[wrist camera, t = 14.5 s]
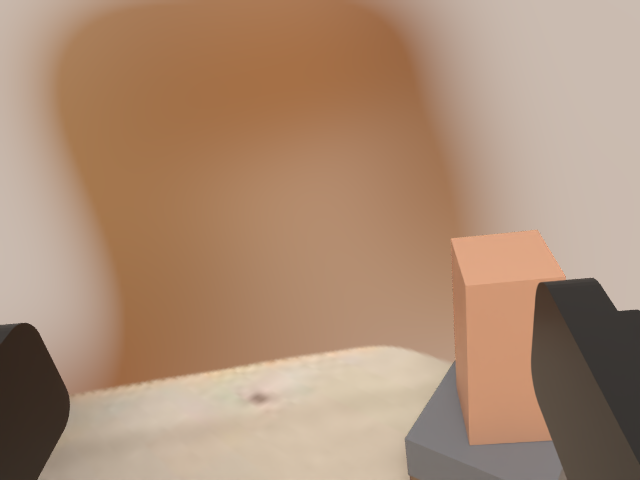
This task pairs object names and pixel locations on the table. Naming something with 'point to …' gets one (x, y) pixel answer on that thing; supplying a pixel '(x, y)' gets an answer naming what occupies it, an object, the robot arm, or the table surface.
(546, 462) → the slab top
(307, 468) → the table surface
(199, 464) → the table surface
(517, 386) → the pillar
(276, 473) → the table surface
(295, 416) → the table surface
